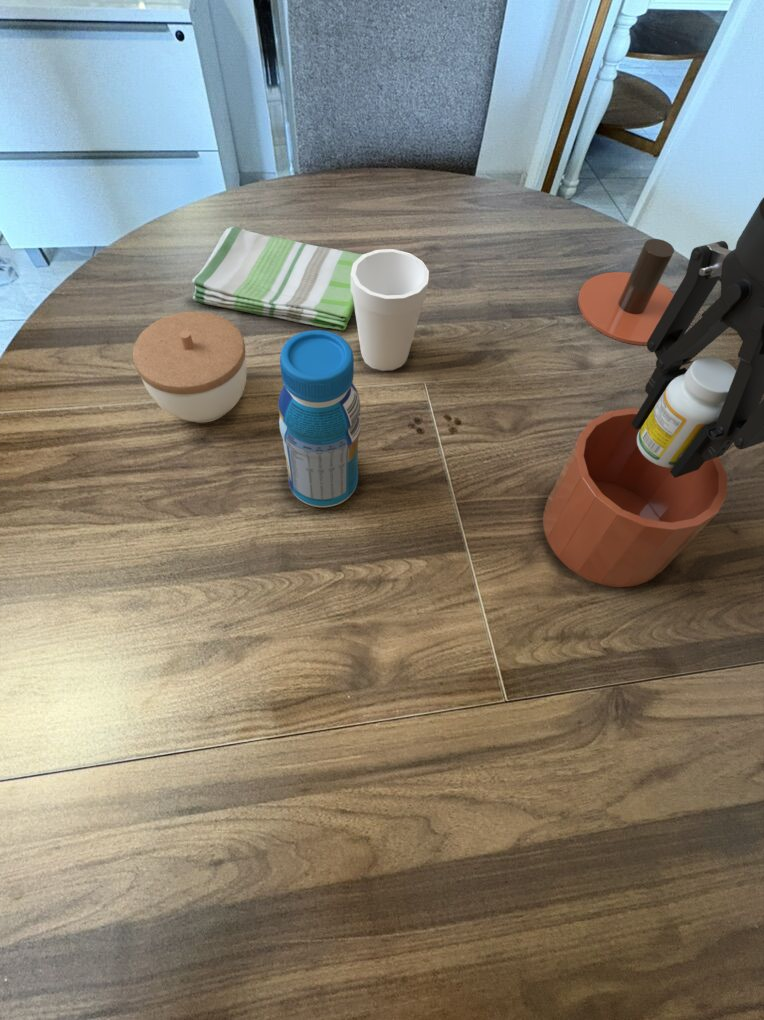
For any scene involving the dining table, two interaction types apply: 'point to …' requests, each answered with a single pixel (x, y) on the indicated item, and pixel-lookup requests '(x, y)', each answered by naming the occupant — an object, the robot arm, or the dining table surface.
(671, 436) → the supplement bottle
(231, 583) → the dining table surface
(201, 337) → the lidded bowl
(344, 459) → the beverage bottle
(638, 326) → the lid
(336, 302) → the dish towel
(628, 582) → the jar
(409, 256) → the foam cup
